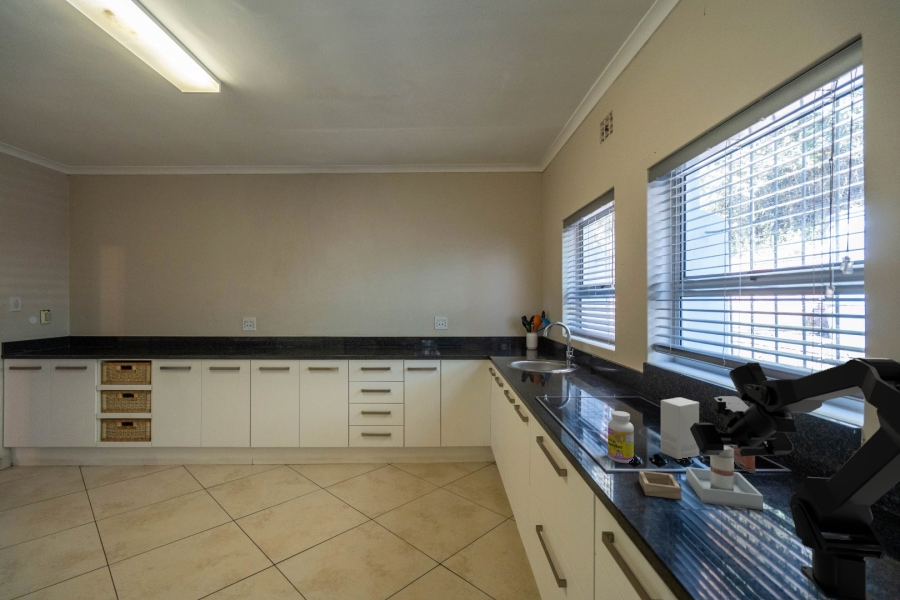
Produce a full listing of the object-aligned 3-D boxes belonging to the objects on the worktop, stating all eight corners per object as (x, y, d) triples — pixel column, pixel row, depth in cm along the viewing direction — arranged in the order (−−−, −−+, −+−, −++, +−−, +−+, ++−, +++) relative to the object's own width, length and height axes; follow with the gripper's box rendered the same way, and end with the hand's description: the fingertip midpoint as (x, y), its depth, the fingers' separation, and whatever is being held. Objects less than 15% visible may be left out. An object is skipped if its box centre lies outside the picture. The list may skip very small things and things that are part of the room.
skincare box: (680, 448, 114) (680, 396, 114) (701, 456, 108) (701, 402, 108) (659, 452, 111) (659, 399, 111) (679, 461, 105) (679, 405, 105)
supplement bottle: (602, 456, 108) (602, 411, 108) (619, 452, 111) (619, 408, 111) (622, 465, 102) (622, 418, 102) (639, 461, 105) (639, 415, 105)
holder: (681, 499, 85) (681, 488, 85) (645, 494, 87) (645, 484, 87) (671, 484, 92) (671, 474, 92) (639, 480, 94) (639, 470, 94)
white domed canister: (733, 497, 84) (733, 453, 84) (709, 491, 87) (710, 448, 87) (733, 489, 88) (733, 446, 88) (710, 484, 90) (710, 442, 90)
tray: (763, 510, 81) (763, 496, 80) (703, 502, 84) (703, 488, 84) (738, 485, 91) (738, 472, 91) (686, 479, 94) (686, 467, 94)
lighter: (759, 473, 97) (759, 434, 97) (744, 472, 98) (744, 433, 98) (742, 460, 105) (742, 424, 105) (728, 459, 106) (728, 423, 106)
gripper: (781, 387, 82) (743, 421, 93) (695, 387, 82) (666, 421, 93) (816, 436, 74) (769, 468, 85) (720, 436, 75) (686, 467, 86)
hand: (721, 454), depth 88 cm, fingers open, 9 cm apart
